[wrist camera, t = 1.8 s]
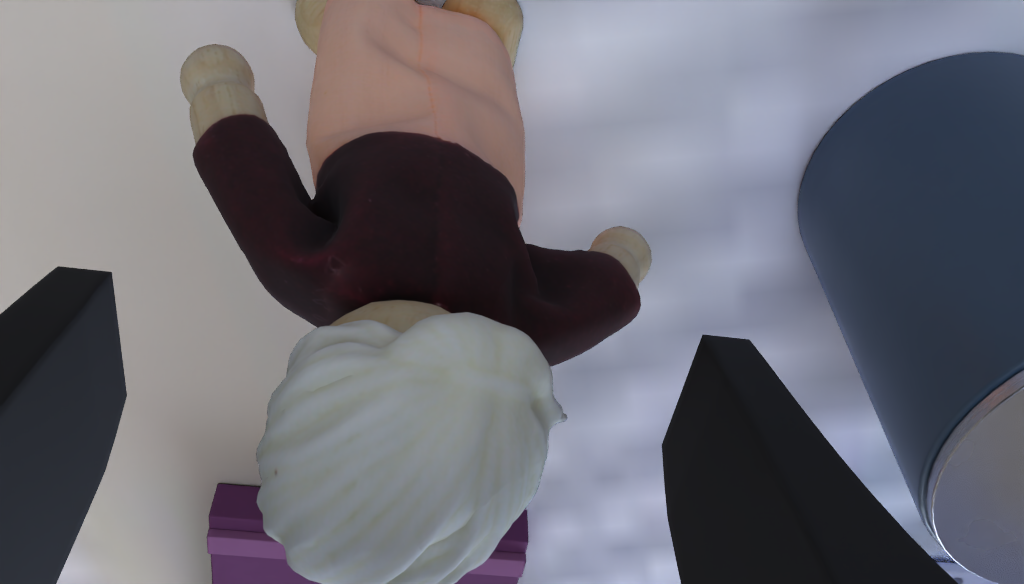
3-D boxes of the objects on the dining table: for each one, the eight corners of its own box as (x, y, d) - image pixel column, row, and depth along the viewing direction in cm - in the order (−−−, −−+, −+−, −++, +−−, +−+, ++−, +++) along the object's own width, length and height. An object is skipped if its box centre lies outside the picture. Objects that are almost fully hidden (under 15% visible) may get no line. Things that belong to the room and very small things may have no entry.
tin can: (1157, 73, 21) (1475, 343, 14) (1010, 311, 25) (1203, 608, 18) (860, 29, 20) (1047, 294, 13) (759, 283, 24) (863, 581, 17)
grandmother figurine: (236, 76, 20) (0, 624, 10) (257, -110, 18) (-19, 367, 8) (590, 159, 22) (679, 710, 12) (652, -3, 19) (826, 513, 10)
